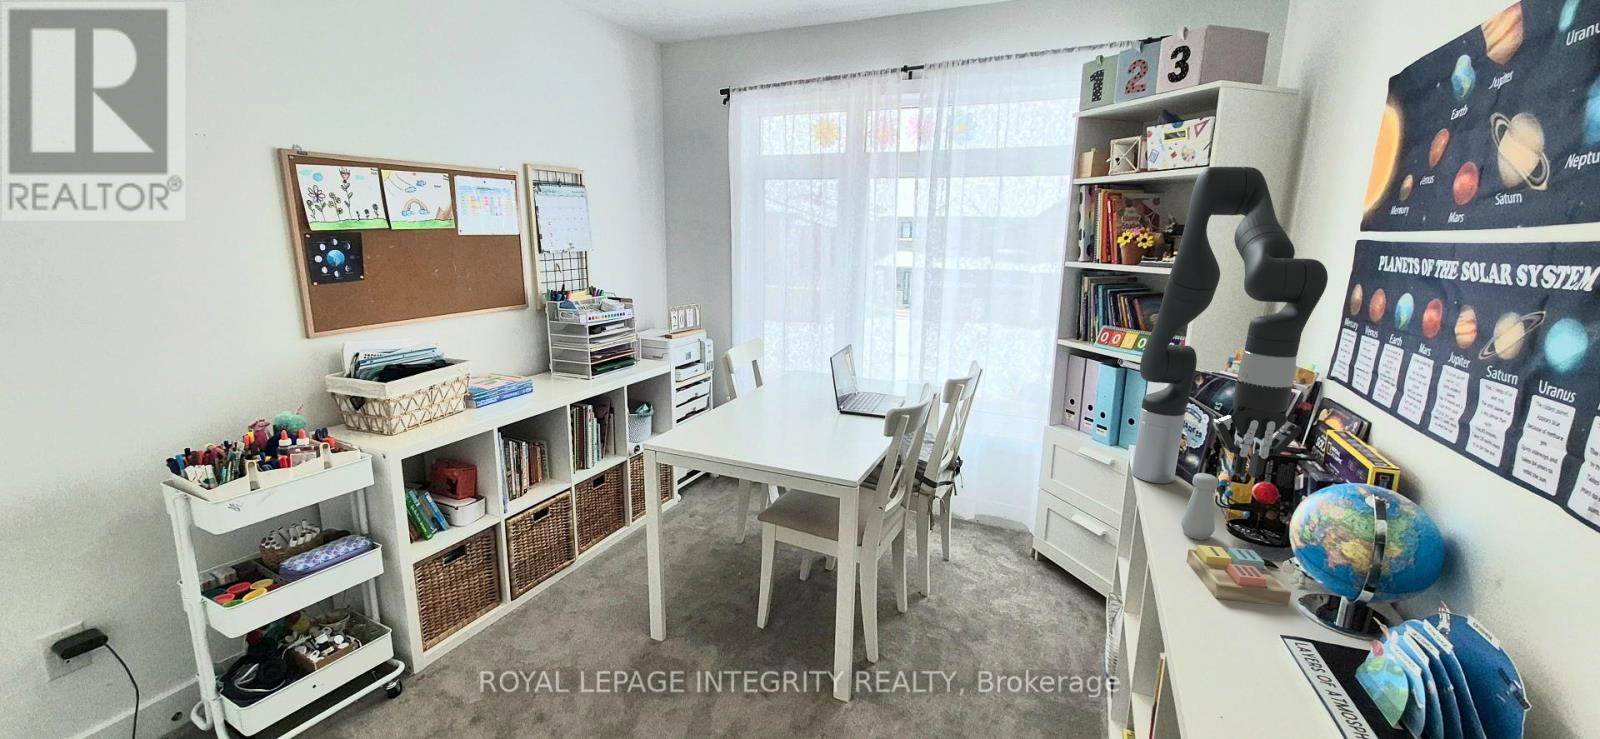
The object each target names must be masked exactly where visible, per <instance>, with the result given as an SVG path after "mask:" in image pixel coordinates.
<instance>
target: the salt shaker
mask: <svg viewBox="0 0 1600 739" xmlns="http://www.w3.org/2000/svg"><path fill="white" fill-rule="evenodd" d="M1192 485H1193V486H1194V488H1193V491H1192V493H1191V495H1190V498H1189V501H1188V503H1187V507H1186V508H1185V511H1184V513H1183V515H1182V518H1181V521H1180V525H1181V528H1182V532H1183V534H1184V535H1186V536H1187V537H1188V538H1191V539H1193V538H1194V539H1193V540H1197V539H1198V541H1203V540H1204V539H1206V540H1208V539H1209V538H1210V537H1211V536H1212V535H1213V533H1214V532H1215V529H1216V525H1215V524H1216V523H1215V503H1214V491H1215V490H1217V489H1218V486H1219V479H1218V478H1217V476H1214V475H1213V474H1209V473H1204V472H1198V473H1196V474H1195V473H1194V475H1193V478H1192ZM1204 541H1205V540H1204Z"/></svg>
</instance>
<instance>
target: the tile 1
mask: <svg viewBox="0 0 1600 739" xmlns="http://www.w3.org/2000/svg"><path fill="white" fill-rule="evenodd" d="M1195 550H1196V555H1197V556H1198V557H1199V558H1200V560H1201V561H1202V562H1203V563H1204V564H1205V565H1214V566H1225V567H1228V565H1229V564H1231V561H1232V558H1231V557H1230V556H1229V555H1228V554H1227V553H1228V552H1226V550H1224V548H1223V547H1222V546H1212V545H1204V544H1197V545H1196V549H1195Z"/></svg>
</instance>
